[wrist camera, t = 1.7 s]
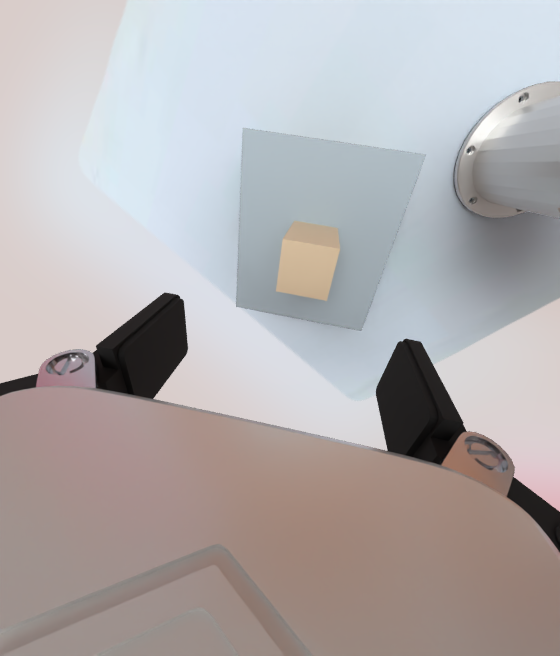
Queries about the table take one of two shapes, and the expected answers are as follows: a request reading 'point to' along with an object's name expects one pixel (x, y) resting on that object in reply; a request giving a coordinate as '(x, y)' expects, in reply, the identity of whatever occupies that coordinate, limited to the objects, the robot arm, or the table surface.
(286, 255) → the lid
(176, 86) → the table surface
